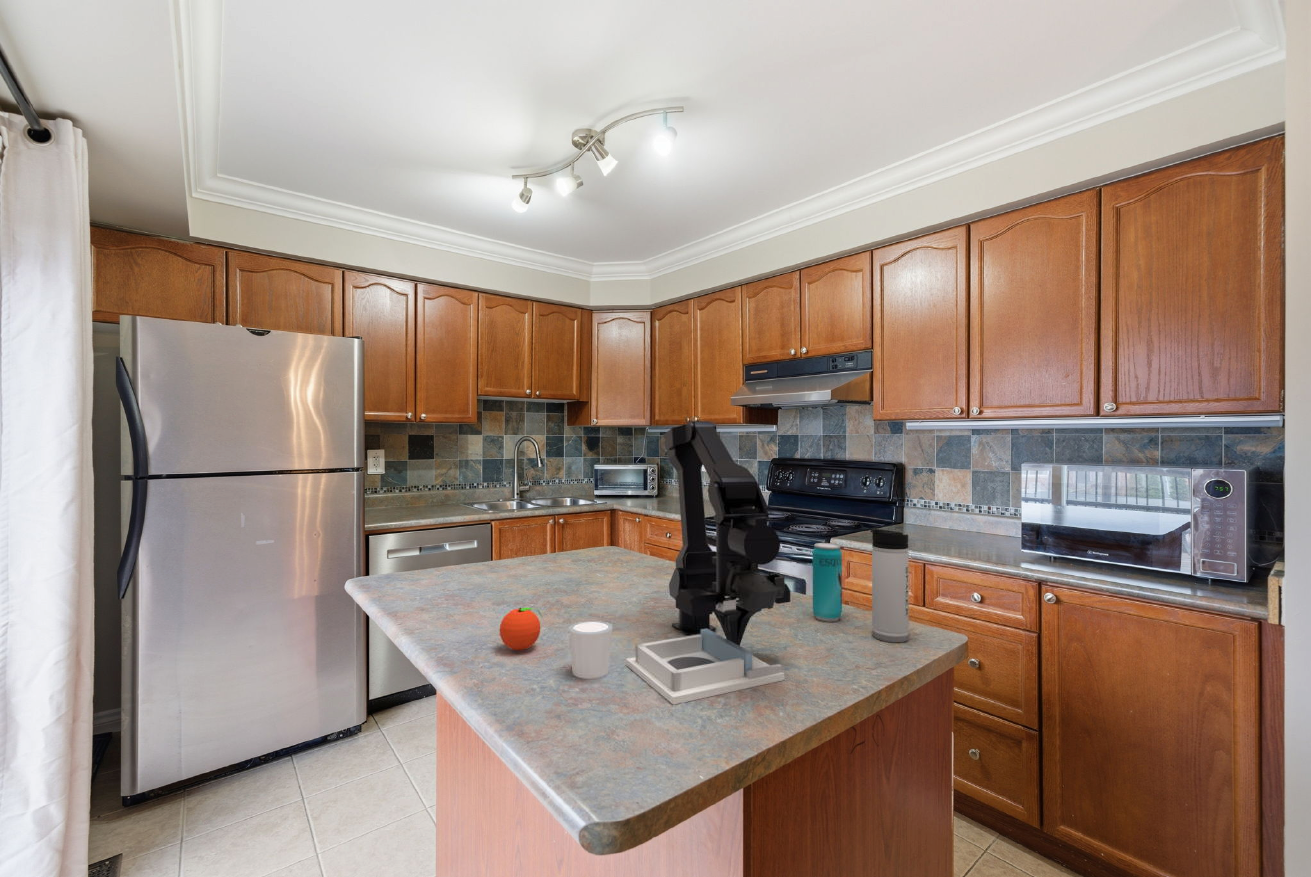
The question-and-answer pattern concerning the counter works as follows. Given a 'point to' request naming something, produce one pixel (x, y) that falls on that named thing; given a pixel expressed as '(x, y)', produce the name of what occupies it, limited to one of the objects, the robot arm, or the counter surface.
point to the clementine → (520, 629)
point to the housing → (695, 670)
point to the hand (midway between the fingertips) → (734, 650)
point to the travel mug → (890, 586)
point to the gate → (724, 649)
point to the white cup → (590, 648)
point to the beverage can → (827, 582)
